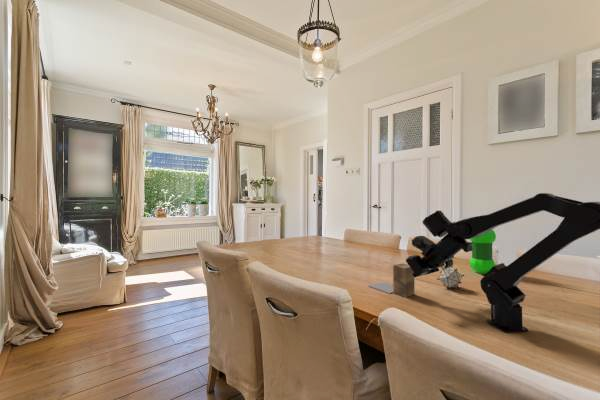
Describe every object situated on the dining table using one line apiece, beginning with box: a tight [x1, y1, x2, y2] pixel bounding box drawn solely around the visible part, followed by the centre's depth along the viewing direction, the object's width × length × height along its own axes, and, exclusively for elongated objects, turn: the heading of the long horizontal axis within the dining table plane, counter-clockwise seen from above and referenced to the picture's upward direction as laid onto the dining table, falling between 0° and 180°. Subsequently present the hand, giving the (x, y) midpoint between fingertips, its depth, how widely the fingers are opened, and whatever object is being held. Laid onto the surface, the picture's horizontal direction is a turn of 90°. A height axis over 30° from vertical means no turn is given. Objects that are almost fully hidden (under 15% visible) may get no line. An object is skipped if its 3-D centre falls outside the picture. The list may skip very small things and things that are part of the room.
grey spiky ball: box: [436, 265, 465, 290], centre depth 103 cm, size 9×8×10 cm
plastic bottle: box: [469, 229, 496, 275], centre depth 124 cm, size 10×10×25 cm
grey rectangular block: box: [392, 263, 415, 298], centre depth 98 cm, size 5×5×10 cm
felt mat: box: [368, 281, 394, 295], centre depth 105 cm, size 10×8×1 cm
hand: (414, 275), depth 94 cm, fingers closed
